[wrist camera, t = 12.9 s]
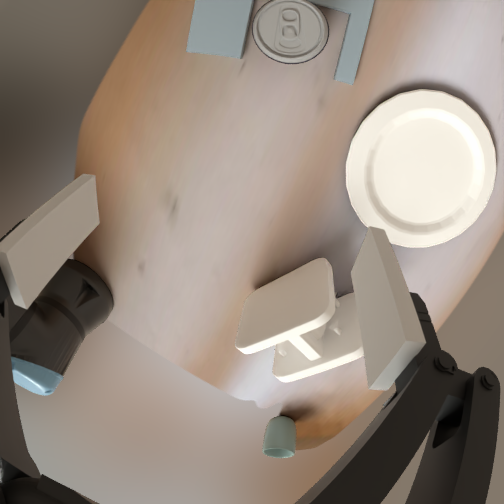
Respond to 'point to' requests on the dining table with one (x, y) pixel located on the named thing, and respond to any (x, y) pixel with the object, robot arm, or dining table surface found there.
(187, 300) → the dining table surface
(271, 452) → the cup
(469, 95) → the dining table surface
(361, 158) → the plate
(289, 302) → the cable organizer
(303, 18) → the beverage can
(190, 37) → the l-shaped desk stand
